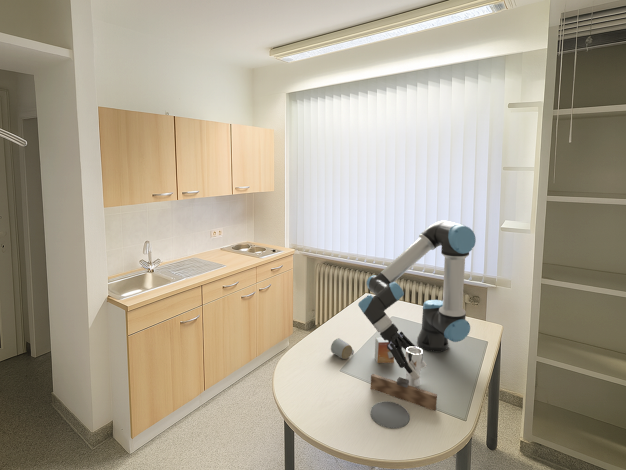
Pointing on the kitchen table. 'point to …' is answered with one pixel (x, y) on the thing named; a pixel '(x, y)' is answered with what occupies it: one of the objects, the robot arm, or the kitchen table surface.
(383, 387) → the board
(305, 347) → the kitchen table surface
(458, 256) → the robot arm
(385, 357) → the small box
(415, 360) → the beer glass
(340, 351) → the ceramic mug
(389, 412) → the round pad
